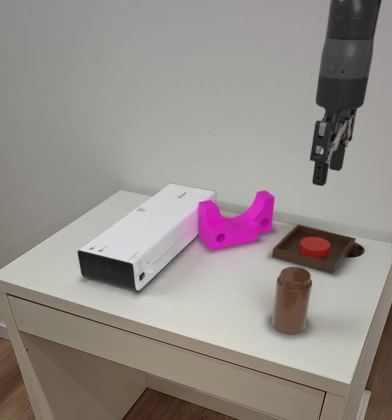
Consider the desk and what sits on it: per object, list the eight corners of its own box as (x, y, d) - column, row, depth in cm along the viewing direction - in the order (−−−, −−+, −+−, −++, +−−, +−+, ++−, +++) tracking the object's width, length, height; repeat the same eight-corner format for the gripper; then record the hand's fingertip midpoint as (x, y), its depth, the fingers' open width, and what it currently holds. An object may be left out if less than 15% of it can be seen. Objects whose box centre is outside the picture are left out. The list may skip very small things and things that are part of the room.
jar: (266, 318, 77) (271, 268, 71) (295, 312, 79) (303, 262, 73) (280, 337, 74) (287, 286, 68) (310, 330, 75) (320, 280, 69)
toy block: (211, 250, 95) (211, 214, 90) (198, 237, 99) (198, 202, 94) (277, 236, 99) (281, 201, 94) (262, 224, 104) (265, 190, 99)
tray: (296, 232, 101) (297, 224, 99) (354, 246, 96) (356, 238, 94) (272, 257, 93) (273, 248, 91) (333, 274, 88) (335, 265, 86)
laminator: (171, 209, 110) (170, 182, 106) (220, 219, 106) (221, 191, 102) (82, 281, 86) (76, 250, 82) (141, 297, 82) (138, 265, 78)
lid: (333, 248, 94) (334, 241, 93) (323, 260, 91) (324, 253, 90) (305, 241, 97) (306, 234, 96) (294, 252, 93) (295, 246, 92)
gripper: (354, 82, 68) (334, 194, 78) (381, 66, 77) (360, 168, 87) (304, 77, 71) (291, 186, 81) (335, 62, 80) (320, 161, 90)
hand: (327, 176), depth 84 cm, fingers open, 8 cm apart
